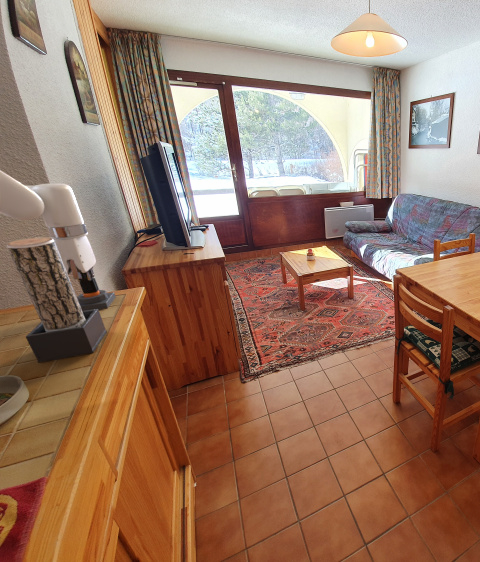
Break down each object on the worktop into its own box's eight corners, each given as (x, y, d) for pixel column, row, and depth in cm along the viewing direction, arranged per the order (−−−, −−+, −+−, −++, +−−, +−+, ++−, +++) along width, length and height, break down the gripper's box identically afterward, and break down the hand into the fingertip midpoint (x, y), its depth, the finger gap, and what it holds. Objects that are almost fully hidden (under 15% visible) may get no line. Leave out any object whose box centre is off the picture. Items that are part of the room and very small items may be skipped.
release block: (73, 313, 88) (68, 302, 87) (83, 301, 95) (79, 291, 93) (107, 308, 91) (104, 297, 90) (115, 297, 98) (112, 287, 96)
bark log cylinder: (52, 355, 69) (2, 247, 59) (55, 342, 74) (9, 240, 64) (92, 344, 73) (51, 242, 63) (93, 332, 78) (54, 235, 68)
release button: (82, 301, 90) (80, 295, 89) (87, 296, 93) (85, 290, 92) (98, 298, 91) (96, 293, 90) (102, 294, 94) (100, 288, 93)
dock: (38, 363, 68) (25, 336, 65) (58, 340, 76) (47, 315, 73) (93, 352, 71) (83, 327, 69) (106, 332, 79) (98, 308, 77)
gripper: (62, 226, 89) (85, 284, 96) (35, 239, 76) (64, 305, 84) (95, 224, 92) (114, 280, 99) (74, 236, 79) (98, 300, 87)
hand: (91, 291), depth 91 cm, fingers closed
